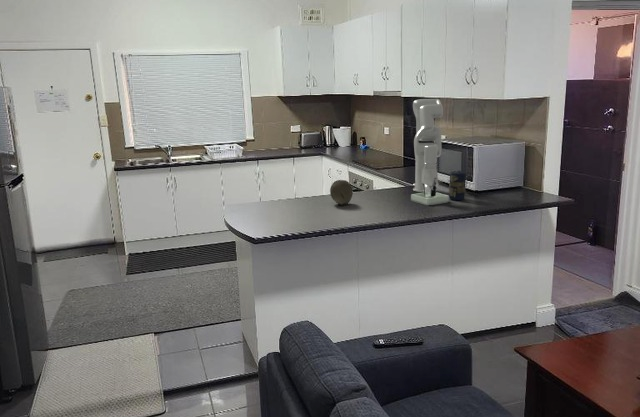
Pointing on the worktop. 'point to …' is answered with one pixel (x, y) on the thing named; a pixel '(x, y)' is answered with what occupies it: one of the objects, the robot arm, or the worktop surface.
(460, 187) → the canister
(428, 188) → the metal cylinder
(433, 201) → the tray
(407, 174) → the worktop surface
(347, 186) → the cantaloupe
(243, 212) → the worktop surface
